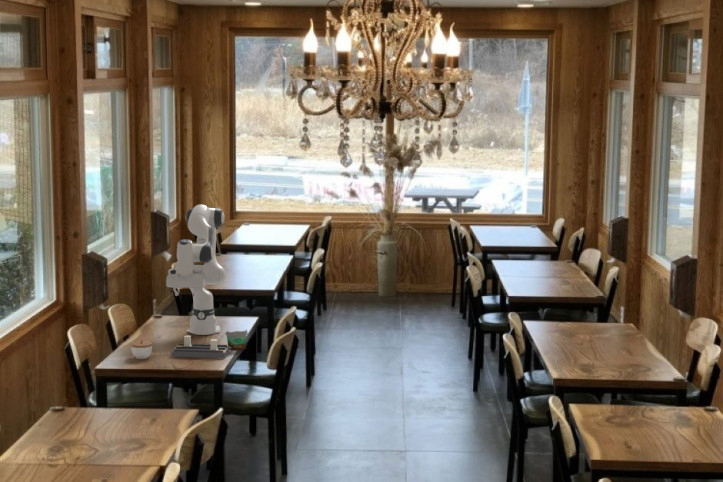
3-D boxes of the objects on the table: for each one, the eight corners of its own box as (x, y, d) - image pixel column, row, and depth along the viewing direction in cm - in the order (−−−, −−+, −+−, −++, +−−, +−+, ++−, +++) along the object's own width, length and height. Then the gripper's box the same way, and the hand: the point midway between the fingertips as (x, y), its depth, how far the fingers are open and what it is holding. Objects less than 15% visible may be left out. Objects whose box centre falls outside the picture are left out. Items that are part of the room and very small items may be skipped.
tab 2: (210, 349, 561) (210, 339, 561) (218, 349, 561) (218, 339, 560) (209, 350, 558) (209, 340, 558) (217, 351, 558) (217, 340, 557)
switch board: (177, 350, 571) (177, 343, 570) (229, 352, 570) (229, 344, 569) (171, 356, 558) (171, 349, 557) (224, 358, 557) (224, 350, 556)
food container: (229, 352, 570) (229, 333, 568) (225, 349, 575) (225, 331, 574) (251, 349, 576) (251, 331, 574) (247, 347, 581) (247, 329, 579)
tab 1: (184, 345, 568) (184, 335, 568) (191, 345, 568) (191, 335, 567) (183, 347, 565) (183, 336, 565) (190, 347, 565) (190, 336, 564)
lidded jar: (149, 354, 563) (148, 336, 562) (154, 359, 554) (154, 341, 552) (128, 356, 558) (128, 338, 557) (134, 361, 549) (134, 343, 547)
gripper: (205, 269, 571) (206, 295, 573) (167, 268, 572) (168, 294, 574) (203, 271, 565) (203, 297, 567) (165, 270, 565) (165, 296, 568)
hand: (185, 295), depth 570 cm, fingers open, 8 cm apart
